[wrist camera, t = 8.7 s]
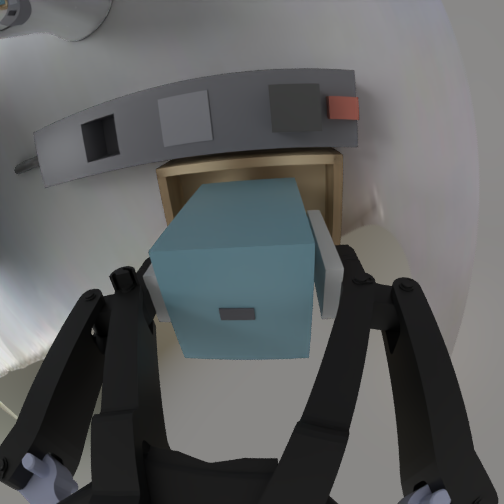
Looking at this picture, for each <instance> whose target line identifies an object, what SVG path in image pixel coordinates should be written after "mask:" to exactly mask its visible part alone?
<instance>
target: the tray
mask: <svg viewBox="0 0 504 504" xmlns="http://www.w3.org/2000/svg"><path fill="white" fill-rule="evenodd" d="M156 173H157V179H158V184H159V189H160V194H161V199H162V204H163V208H164V213H165V218H166V222H167V226H168V225H169V224H170V223H171V222H172V220H173V219H174V218H175V217H176V215H177V214H178V213H179V211H180V210H181V209H182V208H183V207H184V205H185V204H186V203H187V202H188V200H189V199H190V198H191V197H192V196H193V194H194V193H195V192H196V191H197V190H198V188H199V187H200V186H201V185H202V184H209V183H220V182H231V181H243V180H257V179H274V178H295V180H296V183H297V186H298V189H299V192H300V195H301V199H302V202H303V205H304V208H305V211H306V215H307V210H320V212H321V215H322V217H323V219H324V221H325V224H326V226H327V228H328V231H329V233H330V236H331V238H332V240H333V243H334V245H340V239H341V221H342V192H343V155H342V154H341V153H340V152H338V151H337V150H335V149H334V148H332V147H296V148H274V149H259V150H246V151H234V152H224V153H215V154H207V155H199V156H191V157H184V158H177V159H172V160H170V161H169V162H167V163H165V164H164V165H162V166H160V167H159V168H157V169H156Z"/></svg>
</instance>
